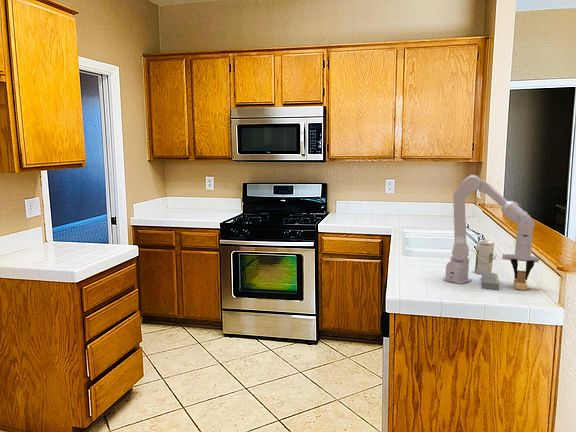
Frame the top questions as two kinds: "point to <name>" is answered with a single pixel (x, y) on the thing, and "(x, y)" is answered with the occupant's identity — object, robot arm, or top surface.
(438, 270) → the top surface
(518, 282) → the stub
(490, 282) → the grey block
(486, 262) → the syrup box
